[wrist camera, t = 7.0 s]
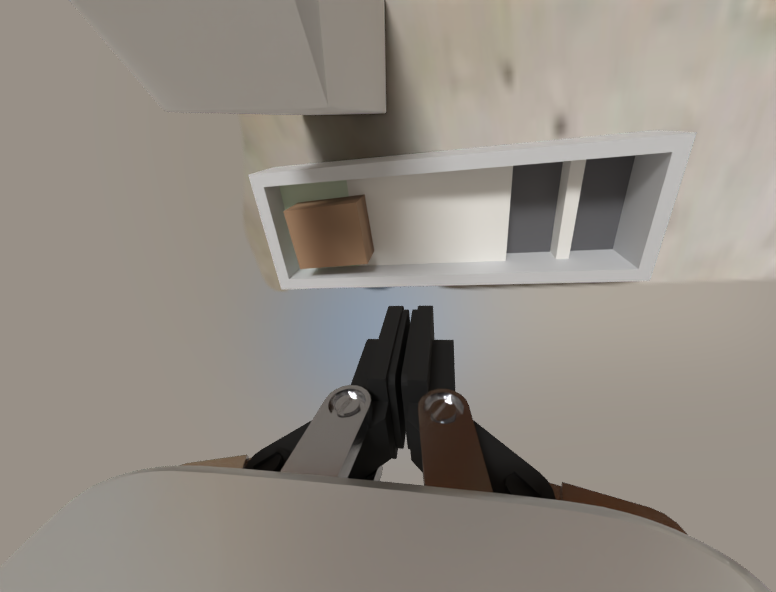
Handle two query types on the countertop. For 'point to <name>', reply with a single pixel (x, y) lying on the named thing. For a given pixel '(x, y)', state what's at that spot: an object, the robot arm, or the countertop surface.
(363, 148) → the countertop surface
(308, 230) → the block
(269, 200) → the box
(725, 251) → the countertop surface
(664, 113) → the countertop surface
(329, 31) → the milk carton
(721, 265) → the countertop surface
